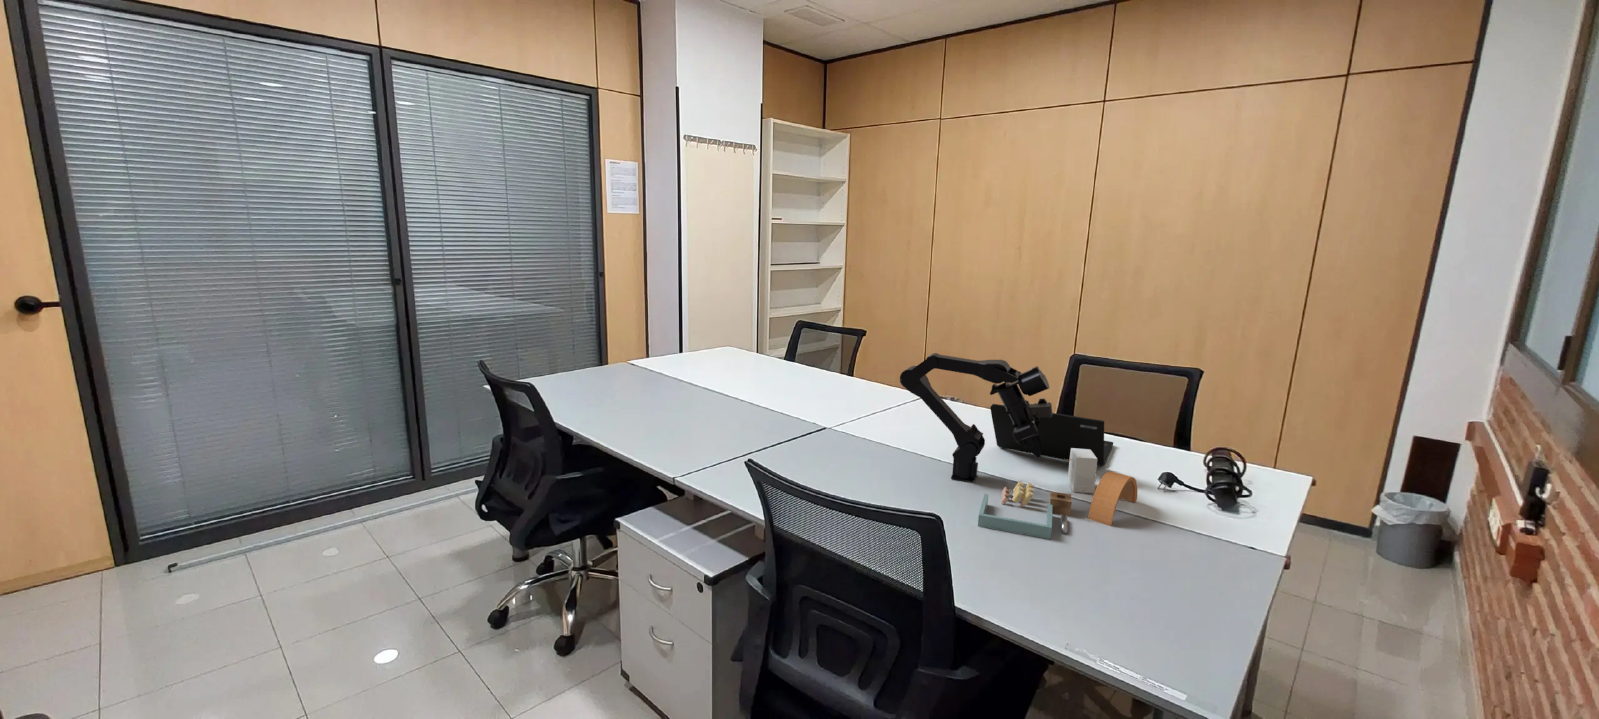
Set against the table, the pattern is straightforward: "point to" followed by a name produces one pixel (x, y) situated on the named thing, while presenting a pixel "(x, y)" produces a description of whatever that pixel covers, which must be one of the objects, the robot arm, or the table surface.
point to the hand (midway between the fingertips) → (1040, 452)
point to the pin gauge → (1063, 524)
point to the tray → (1015, 523)
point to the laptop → (1055, 435)
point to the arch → (1111, 496)
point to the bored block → (1060, 503)
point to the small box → (1082, 470)
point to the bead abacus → (1019, 493)
